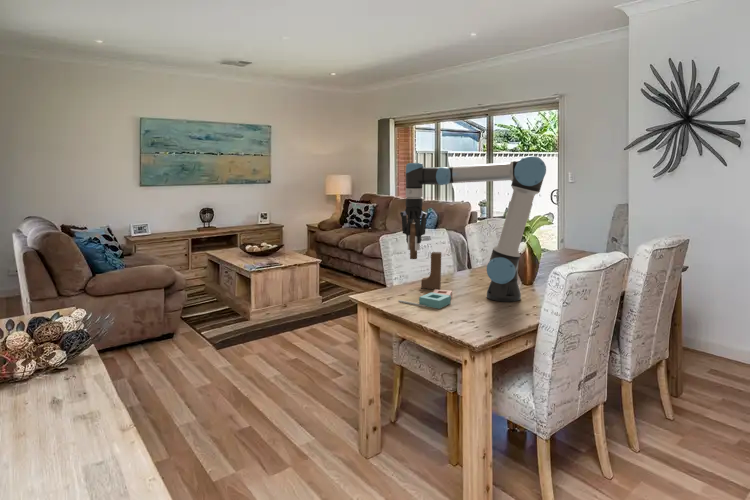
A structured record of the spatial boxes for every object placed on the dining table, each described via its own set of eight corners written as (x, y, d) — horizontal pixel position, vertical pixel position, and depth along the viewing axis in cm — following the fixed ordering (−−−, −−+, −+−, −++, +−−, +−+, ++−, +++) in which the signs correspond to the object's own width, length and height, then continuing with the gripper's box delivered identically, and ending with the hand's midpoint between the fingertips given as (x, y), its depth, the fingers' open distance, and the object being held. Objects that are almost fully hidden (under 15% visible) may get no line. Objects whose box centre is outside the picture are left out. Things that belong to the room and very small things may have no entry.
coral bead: (452, 297, 228) (452, 290, 227) (449, 301, 220) (449, 295, 219) (434, 295, 230) (435, 289, 229) (431, 300, 222) (431, 293, 222)
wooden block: (421, 288, 243) (421, 252, 240) (422, 286, 248) (423, 251, 245) (439, 289, 241) (440, 253, 238) (440, 287, 245) (441, 252, 242)
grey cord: (426, 306, 212) (426, 305, 212) (425, 307, 211) (425, 305, 211) (399, 301, 220) (399, 300, 220) (398, 301, 220) (398, 300, 219)
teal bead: (450, 303, 217) (450, 295, 216) (439, 308, 209) (439, 300, 208) (430, 299, 223) (430, 292, 222) (419, 304, 215) (419, 297, 214)
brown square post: (418, 258, 224) (418, 223, 222) (414, 259, 222) (414, 224, 219) (412, 257, 226) (412, 223, 224) (408, 258, 224) (408, 223, 221)
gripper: (394, 197, 221) (394, 249, 225) (425, 199, 212) (424, 252, 216) (403, 196, 227) (403, 247, 231) (434, 198, 218) (433, 250, 222)
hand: (413, 249), depth 223 cm, fingers closed on brown square post, 3 cm apart
